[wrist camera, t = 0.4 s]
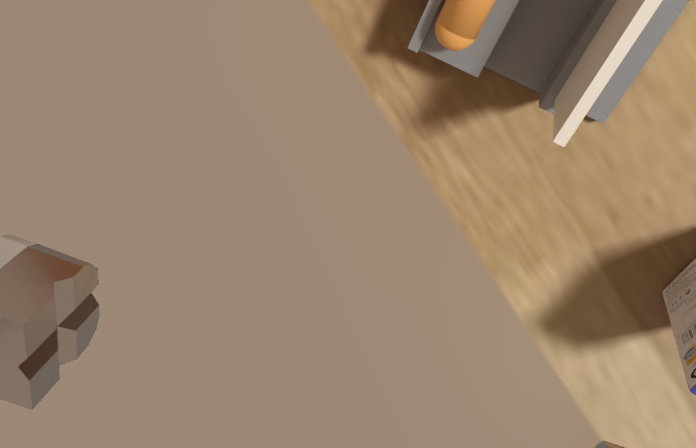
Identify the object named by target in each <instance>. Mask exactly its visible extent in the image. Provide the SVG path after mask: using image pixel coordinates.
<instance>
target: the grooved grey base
mask: <svg viewBox="0 0 696 448" xmlns="http://www.w3.org/2000/svg"><path fill="white" fill-rule="evenodd" d="M616 1H617V0H496V1H495V3H494V5H493V7H492V9H491V11H490V13H489V15H488V16H487V18H486V20H485V22H484V24H483V26H482V28H481V30H480V32H479V34H478V36H477V38H476V39H475V41H474V42H473V43H472V44H471V45H470V46H469V47H468V48H466V49H463V50H459V51H452V50H449V49H447V48H445V47H443V46H442V45H441V44H440V42H439V41H438V39H437V37H436V33H435V27H436V22H437V19H438V17H439V15H440V13H441V10H442V8H443V6H444V4H445V2H446V0H429V1H428V4H427V6H426V8H425V10H424V12H423V15H422V17H421V19H420V21H419V24H418V26H417V28H416V30H415V32H414V35H413V37H412V39H411V41H410V43H409V46H408V49H410V50H412V51H414V52H416V53H418V51H419V50H420V51H423V52H425V53H427V54H429V55H431V56H433V57H435V58H437V59H439V60H441V61H444V62H446V63H448V64H450V65H452V66H454V67H456V68H458V69H460V70H462V71H464V72H467V73H469V74H471V75H473V76H475V77H477V78H478V76H479V75H480V73H481V71H482V69H483V67H486V68H488V69H490V70H492V71H494V72H496V73H498V74H500V75H502V76H504V77H507V78H509V79H511V80H513V81H515V82H517V83H519V84H521V85H523V86H525V87H527V88H530V89H532V90H534V91H536V92H538V93H539V107H540V108H542V109H544V110H546V111H548V112H550V113H552V114H554V106H555V99H556V97H557V95H558V94H559V92H560V91H561V89H562V87H563V86H564V84H565V83H566V81H567V79H568V78H569V76H570V75H571V73H572V71H573V70H574V68H575V67H576V65H577V63H578V62H579V60H580V59H581V57H582V56H583V54H584V52H585V51H586V49H587V48H588V46H589V44H590V43H591V41H592V40H593V38H594V36H595V35H596V33H597V32H598V30H599V28H600V27H601V25H602V24H603V22H604V20H605V19H606V17H607V16H608V14H609V12H610V11H611V9H612V8H613V6H614V5H615V3H616ZM688 1H689V0H663V1H662V2H661V4H660V5H659V7H658V8H657V10H656V11H655V13H654V14H653V16H652V17H651V18H650V20H649V21H648V23H647V24H646V26H645V27H644V29H643V30H642V32H641V33H640V35H639V36H638V38H637V39H636V41H635V42H634V44H633V45H632V47H631V48H630V50H629V51H628V53H627V54H626V56H625V57H624V59H623V60H622V62H621V63H620V65H619V66H618V68H617V69H616V71H615V72H614V74H613V75H612V77H611V78H610V80H609V81H608V83H607V84H606V86H605V87H604V89H603V90H602V92H601V93H600V95H599V96H598V98H597V99H596V101H595V102H594V104H593V105H592V107H591V108H590V110H589V111H588V113H587V114H586V116H588V117H590V118H592V119H594V120H597V121H599V122H601V123H603V124H604V122H605V121H606V119H607V118H608V116H609V115H610V113H611V112H612V111H613V109H614V108H615V106H616V105H617V103H618V102H619V101H620V99H621V98H622V96H623V95H624V93H625V92H626V90H627V89H628V88H629V86H630V85H631V83H632V82H633V80H634V79H635V77H636V76H637V75H638V73H639V72H640V70H641V69H642V67H643V66H644V65H645V63H646V62H647V60H648V59H649V57H650V56H651V54H652V53H653V52H654V50H655V49H656V47H657V46H658V44H659V43H660V41H661V40H662V39H663V37H664V36H665V34H666V33H667V31H668V30H669V29H670V27H671V26H672V24H673V23H674V21H675V20H676V18H677V17H678V16H679V14H680V13H681V11H682V10H683V8H684V7H685V6H686V4H687V3H688Z"/></svg>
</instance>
